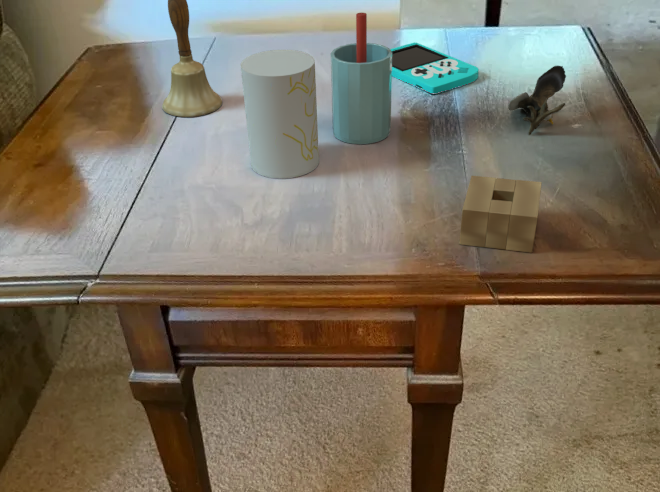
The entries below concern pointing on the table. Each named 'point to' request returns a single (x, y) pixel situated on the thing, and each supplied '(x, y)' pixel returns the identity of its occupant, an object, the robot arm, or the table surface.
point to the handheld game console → (430, 68)
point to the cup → (281, 112)
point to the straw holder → (500, 213)
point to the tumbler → (361, 94)
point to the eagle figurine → (540, 98)
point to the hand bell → (187, 73)
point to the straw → (361, 37)
